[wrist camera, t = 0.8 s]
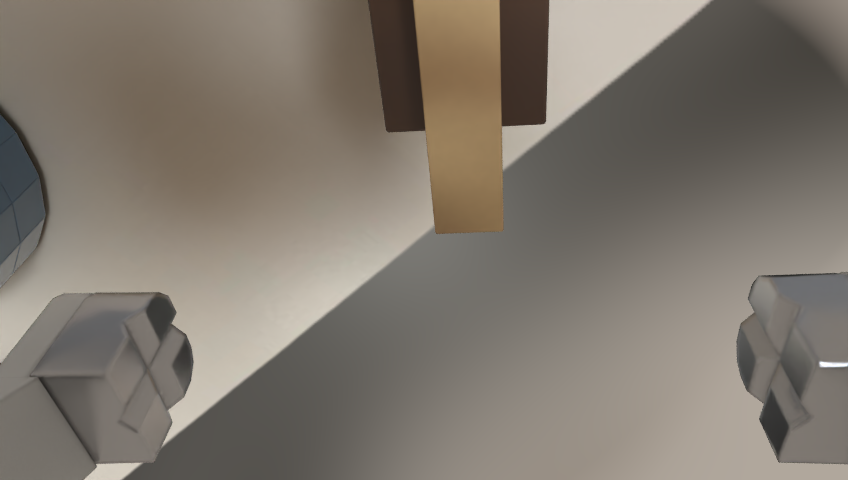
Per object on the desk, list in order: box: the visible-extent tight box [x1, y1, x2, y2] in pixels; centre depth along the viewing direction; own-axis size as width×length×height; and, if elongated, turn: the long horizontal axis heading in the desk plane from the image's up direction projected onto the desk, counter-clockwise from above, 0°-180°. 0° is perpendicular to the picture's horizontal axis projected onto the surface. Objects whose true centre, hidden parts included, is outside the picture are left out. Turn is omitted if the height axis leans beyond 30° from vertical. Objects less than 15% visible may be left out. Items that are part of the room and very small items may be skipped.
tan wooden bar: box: [413, 0, 503, 234], centre depth 18 cm, size 12×2×1 cm, turn 5°
